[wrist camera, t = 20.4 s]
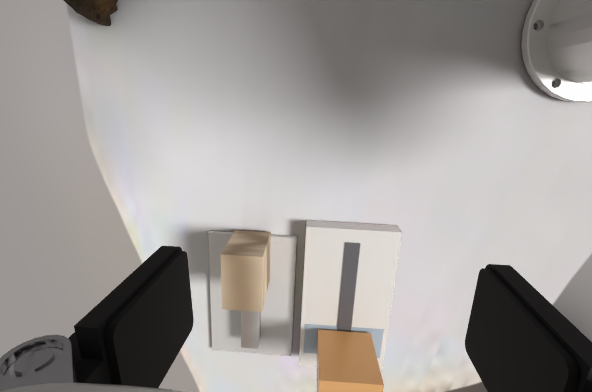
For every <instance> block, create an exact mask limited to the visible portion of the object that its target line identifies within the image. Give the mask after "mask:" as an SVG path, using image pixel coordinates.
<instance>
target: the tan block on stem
mask: <svg viewBox="0 0 592 392" xmlns="http://www.w3.org/2000/svg"><path fill="white" fill-rule="evenodd" d="M270 243H271V232H257V231H239V230H235V231H234V233H233V235H232V236H231V238H230V240H229V241H228V243H227V245H226V246H225V248H224V250H223V251H222V253H221V288H222V309H226V310H241V348H255V349H258V346H259V342H260V337H261V312H262V310H263V306H264V302H265V298H266V293H267V289H268V285H269V281H270Z"/></svg>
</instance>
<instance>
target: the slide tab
mask: <svg viewBox="0 0 592 392" xmlns="http://www.w3.org/2000/svg"><path fill="white" fill-rule="evenodd" d="M316 352H317V392H383V387H384V384H383V380H382V376H381V372H380V368H379V364H378V360H377V356H376V352H375V348H374V344H373V340H372V336H371V333H360V332H346V331H332V330H318V338H317V351H316Z"/></svg>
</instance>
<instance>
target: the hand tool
mask: <svg viewBox="0 0 592 392" xmlns="http://www.w3.org/2000/svg"><path fill="white" fill-rule="evenodd" d="M64 1H65V2H66V3H67V4H68V5H69V6H71V7H72V8H73V9H74V10H75V11H76V12H77V13H79V14H81V15H83V16H84V17H86V18H88V19H89V20H92V21H94V22H96V23H98V24H101V25H105V26H110V25H111V20H110V14H112V13H114V12H115V11H117V9H118V8H117V6H116V3H117V1H118V0H64Z"/></svg>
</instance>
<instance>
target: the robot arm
mask: <svg viewBox="0 0 592 392" xmlns="http://www.w3.org/2000/svg"><path fill="white" fill-rule="evenodd" d="M534 26H535V28H534ZM521 47H522V56H523V61H524V64H525V67H526V70H527V72H528V74H529V75H530V77H531V79H532V81H533V82H534V83H535V84H536V85H537V86H538V87H539V88H540V89H541V90H542V91H544V92H545V93H547V94H548V95H550V96H552V97H554V98H557V99H560V100H563V101H570V102H592V0H534V1H533V2H532V4H531V7H530V9H529V11H528V14H527V16H526V19H525V23H524V27H523V31H522V43H521ZM551 83H552V85H551ZM192 327H193V311H192V300H191V290H190V279H189V269H188V259H187V253H186V252H185V251H182V249H181V248H180V247H174V246H161V247H160V248H159V249H158V250H157V251H156V252H155V253H153V254H152V255H151V256H150V257H149V258H148V259H147V260H146V261H145V262H144V263H143V264H142V265H140V266H139V267H138V268H137V269H136V270H135V271H134V272H133V273H132V274H131V275H130V276H129V277H127V278H126V279H125V280H124V281H123V282H122V283H121V284H120V285H119V286H117V287H116V288H115V289H114V290H113V291H112V292H111V293H110V294H109V295H108V296H107V297H105V298H104V299H103V300H102V301H101V302H100V303H99V304H98V305H97V306H96V307H94V308H93V309H92V310H91V311H90V312H89V313H88V314H87V315H86V316H85V317H84V318H82V319H81V320H80V321H79V322H78V323H77V324H76V325H75V326H74V328H75V333H73V334H72V335H71V336H70V337H69V338H66V337H65V336H60V335H47V336H42V337H38V338H34V339H32V340H29V341H27V342H24V343H22V344H20V345H18V346H16V347H15V348H13V349H11V350H10V351H8V352H7V353H6V354H4V355H3V356H2V357H1V358H0V392H194V391H182V390H172V389H160V388H158V387H159V385H160V384H161V382H162V381H163V379H164V377H165V375H166V373H167V372H168V370H169V368H170V367H171V365H172V363H173V362H174V360H175V358H176V356H177V355H178V353H179V351H180V349H181V348H182V346H183V344H184V342H185V341H186V339H187V337H188V336H189V334H190V332H191V330H192ZM465 347H466V351H467V354H468V356H469V358H470V359H471V361H472V363H473V365H474V367H475V369H476V371H477V373H478V374H479V376H480V378H481V380H482V382H483V384H484V386H485V387H486V389H487V391H488V392H592V342H591V341H590V340H589V339H588V338H587V337H586V336H584V335H583V334H582V333H581V332H580V331H579V330H578V329H577V328H576V327H575V326H574V325H573V324H572V323H571V322H570V321H569V320H568V319H566V318H565V317H564V316H563V315H562V314H561V313H560V312H559V311H558V310H557V309H556V308H555V307H554V306H553V305H552V304H551V303H550V302H548V301H547V300H546V299H545V298H544V297H543V296H542V295H541V294H540V293H539V292H538V291H537V290H536V289H535V288H534V287H533V286H531V285H530V284H529V283H528V282H527V281H526V280H525V279H524V278H523V277H522V276H521V275H520V274H519V273H518V272H517V271H516V270H515V269H513V268H512V267H511V266H510V265H493V264H489V265H487V266H486V268H485V269H481V270H480V272H479V276H478V281H477V286H476V290H475V295H474V300H473V305H472V310H471V315H470V319H469V324H468V329H467V334H466V339H465Z"/></svg>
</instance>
